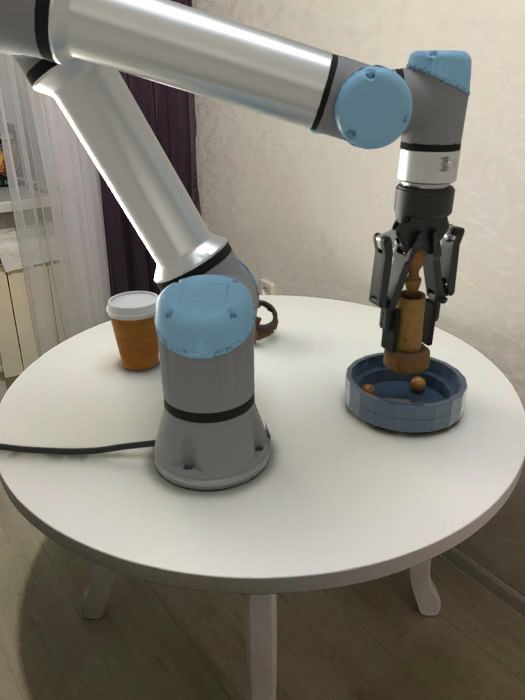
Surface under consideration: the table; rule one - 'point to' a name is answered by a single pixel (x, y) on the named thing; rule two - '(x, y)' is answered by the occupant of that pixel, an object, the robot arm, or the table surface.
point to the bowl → (405, 395)
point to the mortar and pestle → (410, 325)
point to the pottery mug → (268, 328)
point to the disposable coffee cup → (135, 328)
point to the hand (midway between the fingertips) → (406, 345)
